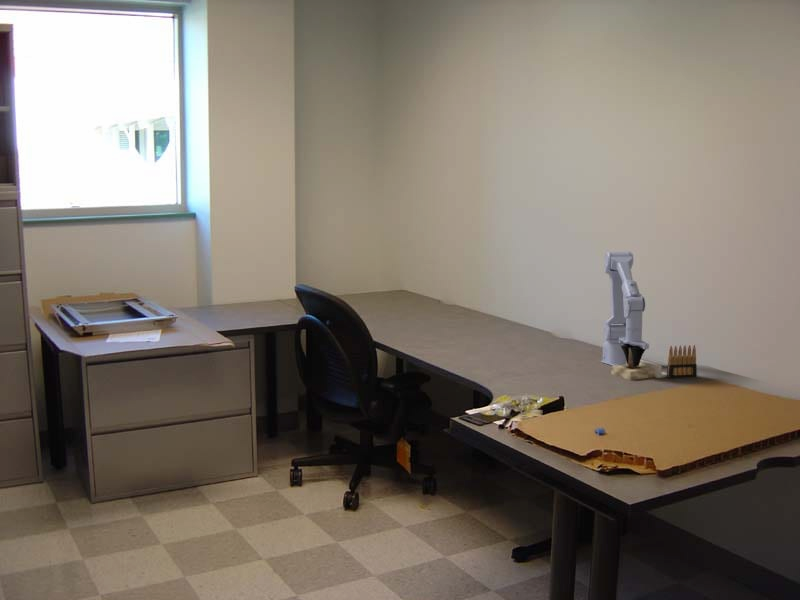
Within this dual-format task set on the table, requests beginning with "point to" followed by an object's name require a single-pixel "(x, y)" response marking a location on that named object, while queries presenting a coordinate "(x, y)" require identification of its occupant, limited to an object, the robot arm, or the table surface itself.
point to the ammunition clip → (682, 363)
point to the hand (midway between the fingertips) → (632, 365)
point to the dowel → (631, 361)
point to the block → (633, 372)
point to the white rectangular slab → (655, 366)
